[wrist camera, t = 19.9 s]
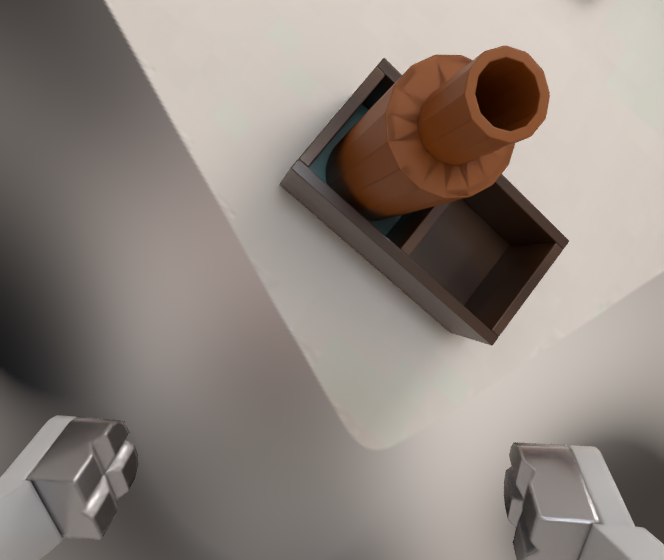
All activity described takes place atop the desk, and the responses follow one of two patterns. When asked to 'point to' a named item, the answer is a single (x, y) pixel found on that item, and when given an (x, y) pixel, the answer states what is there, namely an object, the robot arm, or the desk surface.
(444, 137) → the bottle
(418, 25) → the desk surface
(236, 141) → the desk surface
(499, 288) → the box
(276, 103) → the desk surface
